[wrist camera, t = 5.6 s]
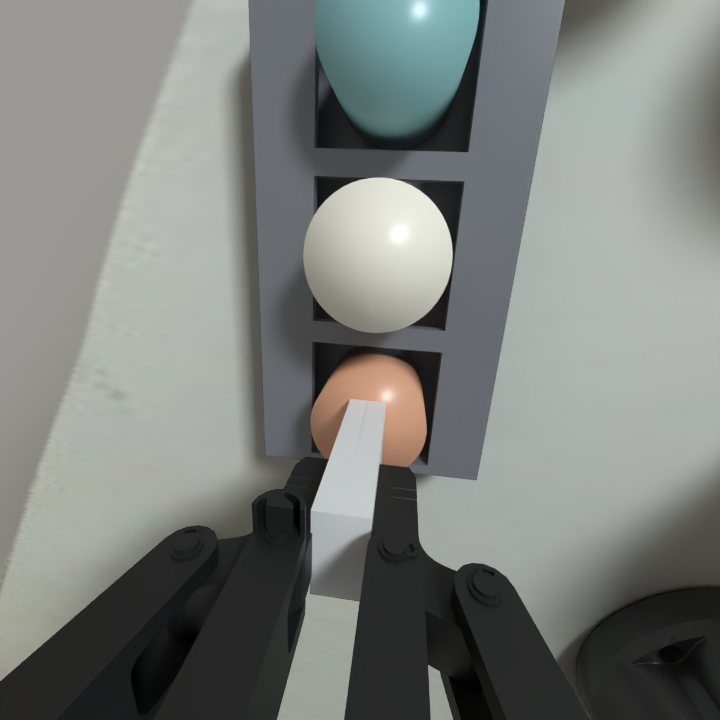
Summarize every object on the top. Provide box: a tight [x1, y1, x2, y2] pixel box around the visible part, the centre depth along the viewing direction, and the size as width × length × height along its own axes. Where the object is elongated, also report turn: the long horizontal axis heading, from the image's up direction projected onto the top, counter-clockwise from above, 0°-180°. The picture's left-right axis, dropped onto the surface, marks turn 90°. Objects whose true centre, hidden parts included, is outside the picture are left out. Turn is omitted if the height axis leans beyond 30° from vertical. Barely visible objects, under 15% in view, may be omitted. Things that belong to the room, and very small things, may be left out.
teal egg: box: [314, 0, 480, 149], centre depth 13 cm, size 5×5×4 cm
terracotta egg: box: [310, 346, 427, 467], centre depth 17 cm, size 5×5×4 cm
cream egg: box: [303, 178, 453, 333], centre depth 14 cm, size 5×5×4 cm
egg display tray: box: [249, 0, 565, 480], centre depth 17 cm, size 21×11×4 cm, turn 177°
